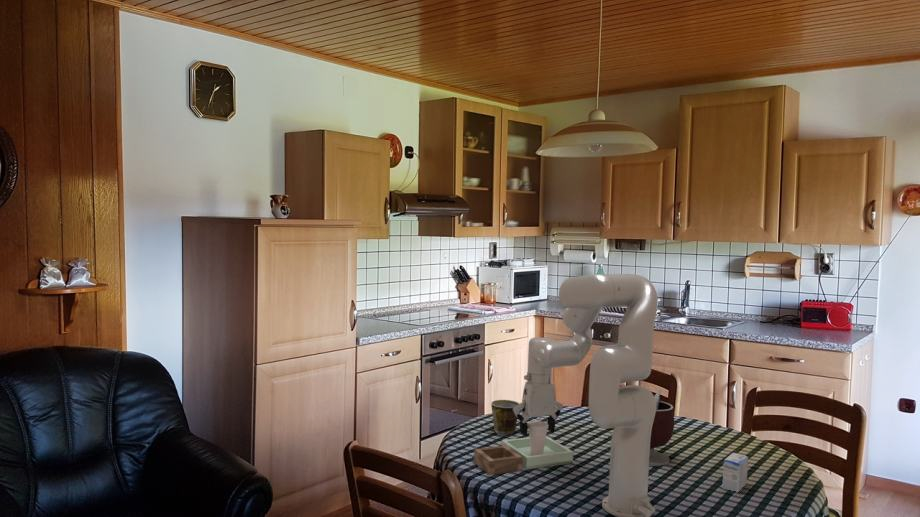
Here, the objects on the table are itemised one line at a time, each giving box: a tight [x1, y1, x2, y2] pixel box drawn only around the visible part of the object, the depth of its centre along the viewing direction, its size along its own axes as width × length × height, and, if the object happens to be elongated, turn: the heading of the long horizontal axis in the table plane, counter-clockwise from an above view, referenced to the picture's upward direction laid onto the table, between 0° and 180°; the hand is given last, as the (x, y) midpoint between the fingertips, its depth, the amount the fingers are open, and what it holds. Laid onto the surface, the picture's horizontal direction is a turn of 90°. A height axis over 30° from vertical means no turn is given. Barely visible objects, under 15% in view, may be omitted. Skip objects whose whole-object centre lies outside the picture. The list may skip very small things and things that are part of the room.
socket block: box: [473, 445, 523, 476], centre depth 191 cm, size 11×11×4 cm
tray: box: [501, 435, 574, 470], centre depth 200 cm, size 16×16×4 cm
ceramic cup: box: [490, 399, 521, 436], centre depth 222 cm, size 13×10×10 cm
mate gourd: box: [649, 389, 675, 467], centre depth 202 cm, size 16×14×20 cm
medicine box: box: [721, 452, 749, 493], centre depth 181 cm, size 8×4×9 cm, turn 141°
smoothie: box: [527, 416, 548, 456], centre depth 199 cm, size 6×6×14 cm
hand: (537, 432), depth 199 cm, fingers open, 9 cm apart
